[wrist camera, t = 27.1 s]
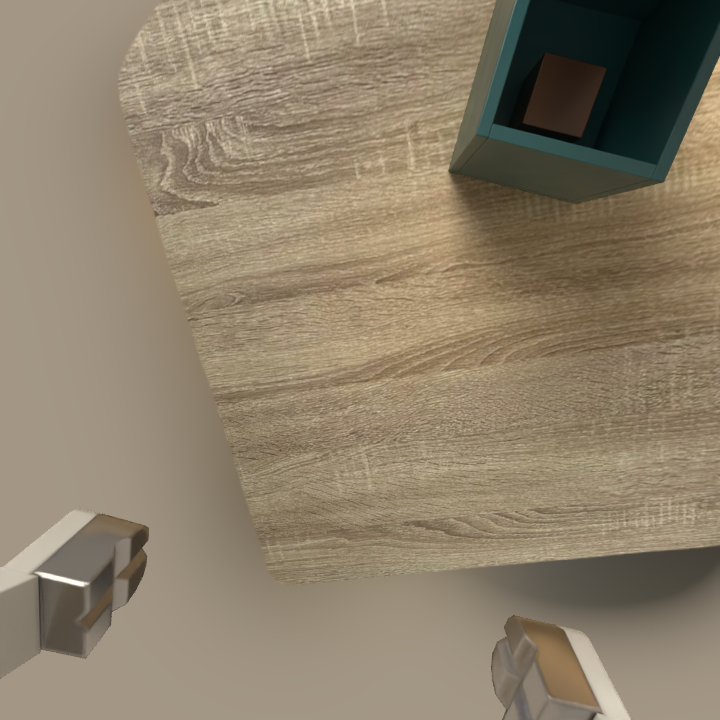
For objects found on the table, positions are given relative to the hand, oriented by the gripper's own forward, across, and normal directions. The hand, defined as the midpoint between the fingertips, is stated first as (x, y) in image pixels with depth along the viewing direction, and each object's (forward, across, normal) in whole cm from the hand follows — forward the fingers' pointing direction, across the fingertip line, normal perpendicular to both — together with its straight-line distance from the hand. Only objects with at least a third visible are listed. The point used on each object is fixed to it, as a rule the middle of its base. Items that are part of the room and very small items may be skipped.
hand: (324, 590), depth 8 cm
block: (+29, -9, -20) cm, 37 cm away
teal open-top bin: (+30, -9, -22) cm, 38 cm away
